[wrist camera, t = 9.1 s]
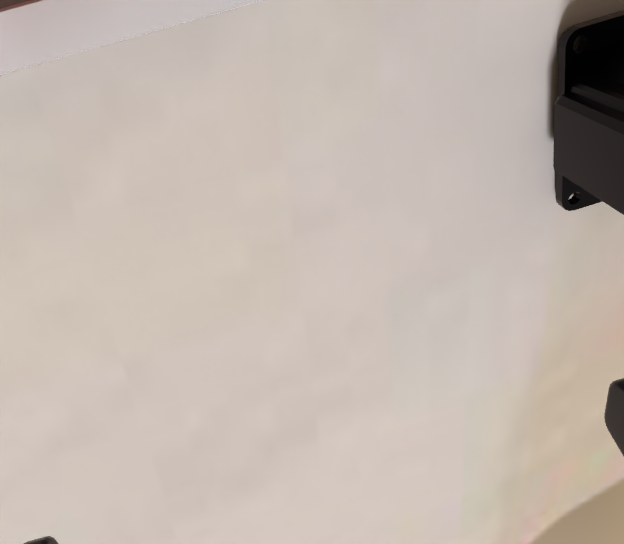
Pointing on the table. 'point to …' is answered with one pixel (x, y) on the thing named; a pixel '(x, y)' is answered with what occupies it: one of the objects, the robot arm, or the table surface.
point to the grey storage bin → (88, 25)
